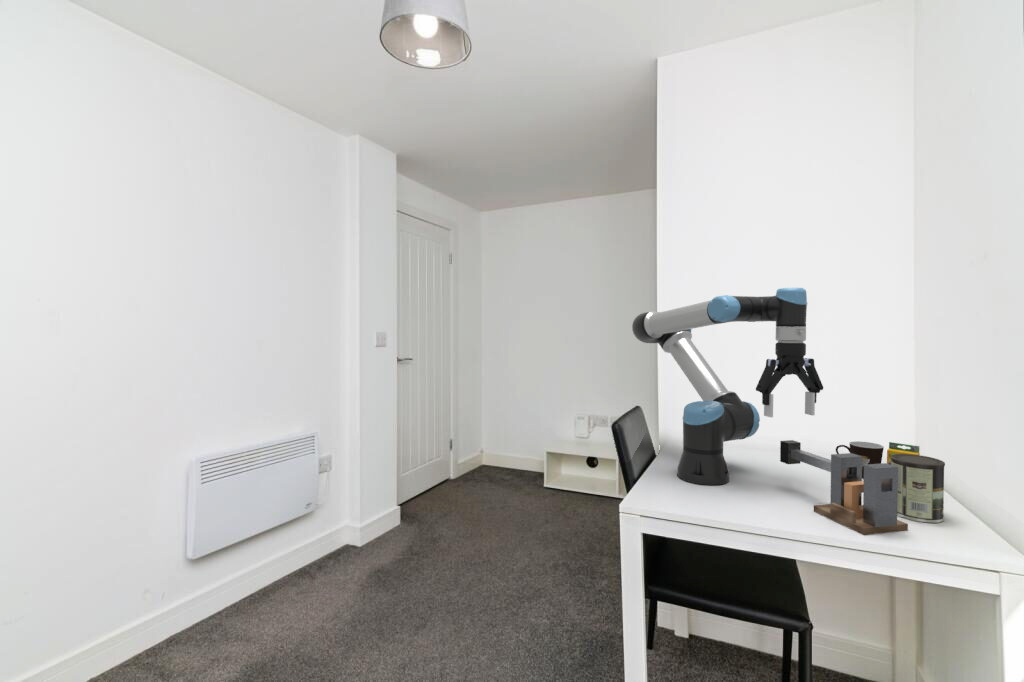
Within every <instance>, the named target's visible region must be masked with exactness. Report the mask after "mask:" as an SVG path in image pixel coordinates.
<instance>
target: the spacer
mask: <svg viewBox="0 0 1024 682" xmlns="http://www.w3.org/2000/svg"><path fill="white" fill-rule="evenodd" d="M859 493H862V494H863V493H864V480H862V481H857V482H847V483H844V507H845V508H848V509H850V510H852V511H855V512H856V518H862V517H863V504H861V505H860V506H859Z"/></svg>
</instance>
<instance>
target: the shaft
mask: <svg viewBox="0 0 1024 682" xmlns="http://www.w3.org/2000/svg"><path fill="white" fill-rule="evenodd" d="M801 447H802V445H801V442H799V441H798V440H793V439H791V440H790V439H789V440H780V447H779V449H780V452H779V455H780V456H779V457H780V458H779V459H780V460H779V462H781V463H783V464H785V465H796V464H797V465H799V464H801V463H804V464H807V465H810V466H813V467H815V468H818V469H819V470H820V469H821V470H823V471H826V472H828V473H829V472H830V473H831V458H830V459H829V458H827V457H825V456H824V457H823V456H821V455H818V454H813V453H812V452H808V451H806V450H802V449H801ZM846 475H849V467H847V473H846Z"/></svg>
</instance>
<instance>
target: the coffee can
mask: <svg viewBox="0 0 1024 682" xmlns="http://www.w3.org/2000/svg"><path fill="white" fill-rule="evenodd" d="M891 465H893V466H897V467H898V500H897V517H901V518H903V519H906V520H910V521H915V522H918V523H919V522H920V523H929V524H939V523H942V522H944V521H945V519H944V510H945V508H944V506H945V505H944V503H945V502H944V501H945V499H944V496H945V495H944V494H945V491H944V488H945V484H944V483H945V466H946V463H945V461H944V460H941V459H938V458H935V457H930V456H928V455H927V456H926V455H921V454H920V455H913V454H893V455H891Z"/></svg>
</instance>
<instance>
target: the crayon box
mask: <svg viewBox="0 0 1024 682" xmlns="http://www.w3.org/2000/svg"><path fill="white" fill-rule="evenodd" d="M903 446H904V447H907V448H903ZM893 454H913V455H921V453H920V445H912V444H906V443H898V442H891V441H889V442H888V449H887V451H886V463H887V464H890V465H891V455H893Z"/></svg>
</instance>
